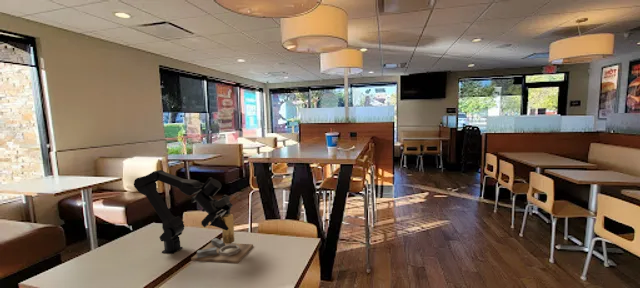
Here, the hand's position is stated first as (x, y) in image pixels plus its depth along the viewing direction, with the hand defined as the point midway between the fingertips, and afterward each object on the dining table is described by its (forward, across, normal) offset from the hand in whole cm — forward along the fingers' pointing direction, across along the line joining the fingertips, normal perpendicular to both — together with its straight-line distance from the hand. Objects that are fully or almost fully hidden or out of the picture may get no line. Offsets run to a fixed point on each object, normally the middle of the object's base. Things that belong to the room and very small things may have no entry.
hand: (230, 227), depth 127 cm
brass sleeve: (+4, 0, +6) cm, 7 cm away
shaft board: (+6, 0, +12) cm, 13 cm away
